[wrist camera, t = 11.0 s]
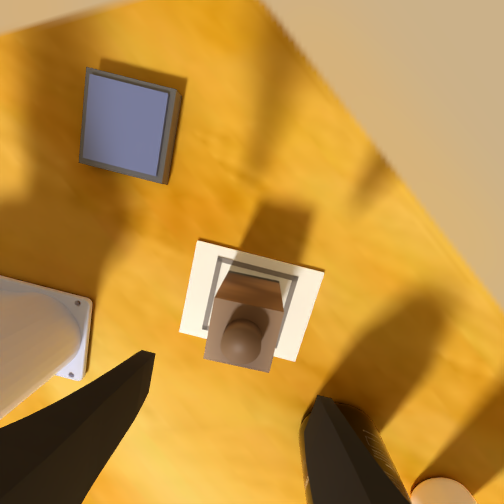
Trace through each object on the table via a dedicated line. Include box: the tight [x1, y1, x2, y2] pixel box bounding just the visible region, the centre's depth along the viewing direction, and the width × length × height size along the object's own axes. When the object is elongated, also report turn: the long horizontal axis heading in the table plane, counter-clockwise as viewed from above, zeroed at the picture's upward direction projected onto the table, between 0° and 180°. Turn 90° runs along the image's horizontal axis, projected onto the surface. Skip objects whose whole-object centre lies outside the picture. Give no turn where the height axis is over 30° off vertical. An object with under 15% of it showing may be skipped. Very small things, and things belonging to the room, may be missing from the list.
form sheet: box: [179, 240, 324, 362], centre depth 19 cm, size 10×8×1 cm
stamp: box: [204, 271, 284, 373], centre depth 16 cm, size 4×4×6 cm
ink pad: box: [79, 67, 182, 185], centre depth 16 cm, size 6×6×1 cm
